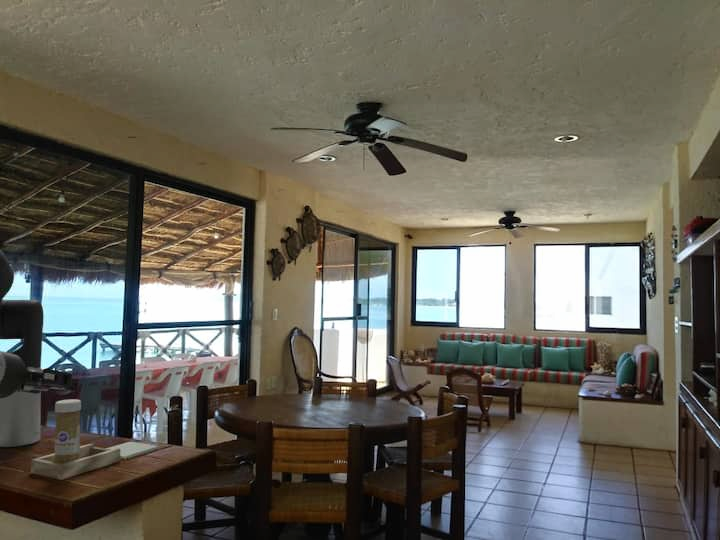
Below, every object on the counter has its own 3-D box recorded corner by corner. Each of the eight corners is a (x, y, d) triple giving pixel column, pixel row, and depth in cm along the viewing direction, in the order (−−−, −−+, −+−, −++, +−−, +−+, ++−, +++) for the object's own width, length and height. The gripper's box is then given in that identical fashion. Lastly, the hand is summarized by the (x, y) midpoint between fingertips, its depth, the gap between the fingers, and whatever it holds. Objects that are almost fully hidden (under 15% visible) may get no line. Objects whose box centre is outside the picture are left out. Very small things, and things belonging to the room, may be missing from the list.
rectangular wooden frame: (61, 479, 106) (61, 466, 106) (31, 472, 110) (31, 459, 110) (120, 461, 117) (120, 448, 117) (91, 455, 122) (91, 443, 122)
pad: (124, 459, 118) (124, 456, 118) (95, 454, 122) (95, 451, 122) (158, 448, 126) (158, 446, 126) (130, 444, 130) (130, 441, 130)
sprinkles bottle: (52, 474, 109) (52, 403, 109) (57, 467, 113) (57, 399, 114) (78, 471, 110) (78, 402, 111) (82, 465, 115) (82, 397, 115)
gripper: (25, 346, 92) (93, 365, 107) (-45, 351, 96) (30, 369, 110) (15, 392, 90) (87, 405, 104) (-56, 396, 93) (23, 408, 108)
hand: (58, 387), depth 107 cm, fingers open, 8 cm apart
